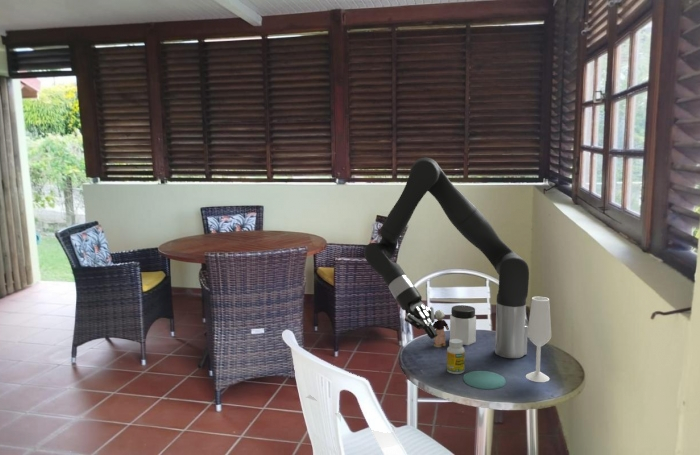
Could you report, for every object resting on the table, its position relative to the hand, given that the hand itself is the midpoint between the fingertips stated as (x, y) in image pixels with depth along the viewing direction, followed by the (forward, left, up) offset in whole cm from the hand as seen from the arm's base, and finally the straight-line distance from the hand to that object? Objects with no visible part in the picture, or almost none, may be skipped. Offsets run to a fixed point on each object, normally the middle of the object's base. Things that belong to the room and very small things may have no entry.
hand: (434, 337), depth 171 cm
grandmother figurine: (-9, -14, -9) cm, 19 cm away
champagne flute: (-23, +20, -9) cm, 32 cm away
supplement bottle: (-3, +7, -9) cm, 12 cm away
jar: (-19, -15, -9) cm, 26 cm away
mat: (-8, +16, -9) cm, 20 cm away
